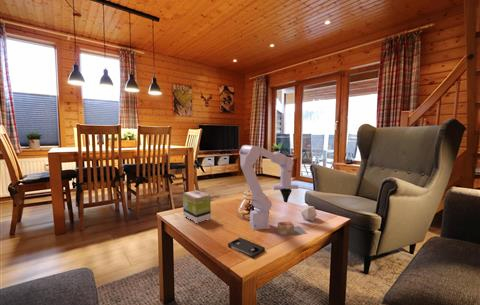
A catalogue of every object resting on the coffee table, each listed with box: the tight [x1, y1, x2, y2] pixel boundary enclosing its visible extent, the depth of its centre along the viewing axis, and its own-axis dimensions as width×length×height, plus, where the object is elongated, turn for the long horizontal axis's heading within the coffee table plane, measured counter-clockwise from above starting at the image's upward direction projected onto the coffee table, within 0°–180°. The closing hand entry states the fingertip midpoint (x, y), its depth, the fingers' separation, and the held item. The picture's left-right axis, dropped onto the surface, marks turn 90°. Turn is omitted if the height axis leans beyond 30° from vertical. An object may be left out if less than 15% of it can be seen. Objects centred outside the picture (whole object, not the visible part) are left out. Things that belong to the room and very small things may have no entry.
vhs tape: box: [227, 237, 266, 259], centre depth 98 cm, size 14×8×2 cm, turn 48°
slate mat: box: [273, 226, 308, 238], centre depth 115 cm, size 14×9×1 cm, turn 102°
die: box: [300, 205, 318, 222], centre depth 130 cm, size 8×9×10 cm
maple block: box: [277, 220, 295, 234], centre depth 114 cm, size 4×4×7 cm
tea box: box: [182, 189, 212, 224], centre depth 133 cm, size 15×10×15 cm, turn 42°
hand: (285, 201), depth 130 cm, fingers closed
